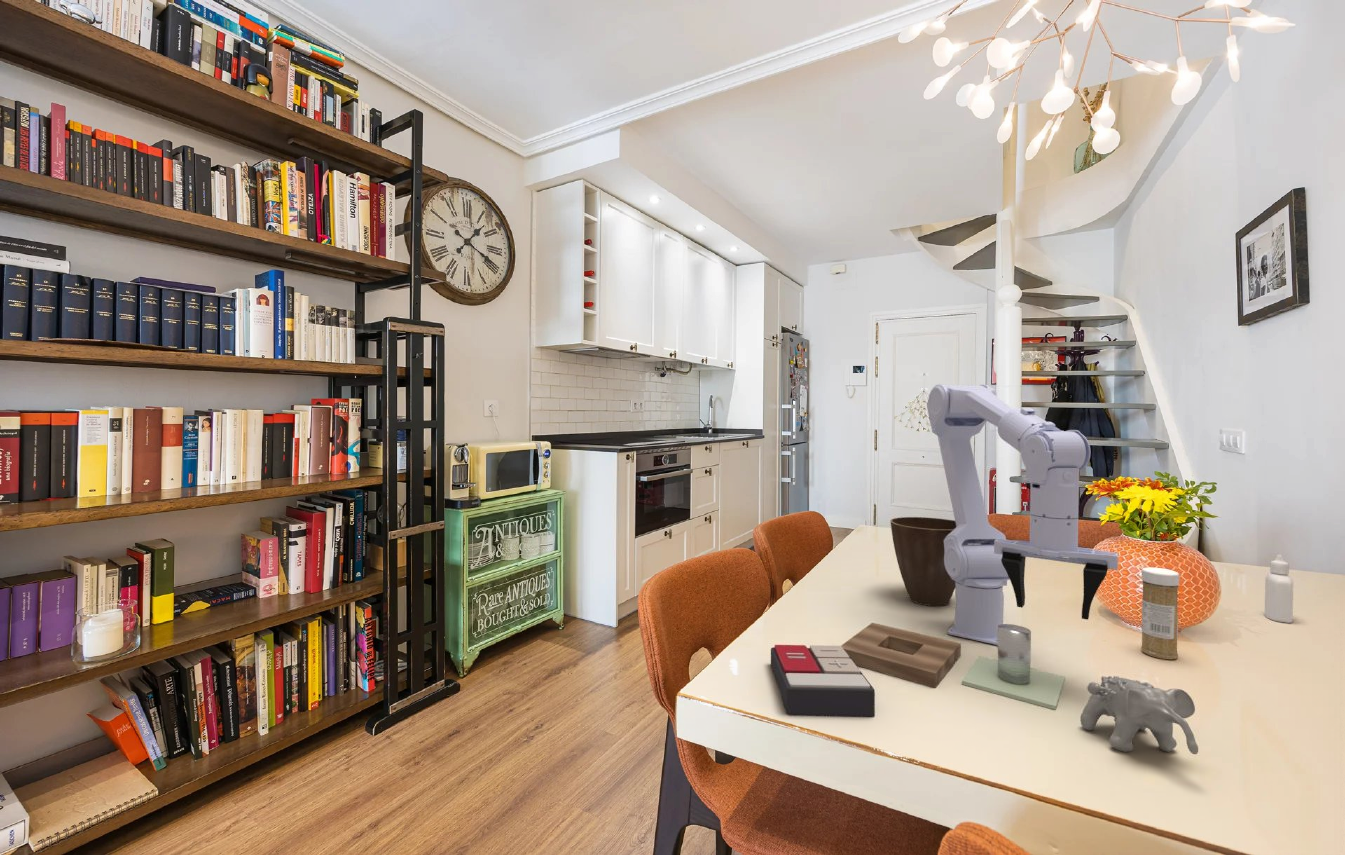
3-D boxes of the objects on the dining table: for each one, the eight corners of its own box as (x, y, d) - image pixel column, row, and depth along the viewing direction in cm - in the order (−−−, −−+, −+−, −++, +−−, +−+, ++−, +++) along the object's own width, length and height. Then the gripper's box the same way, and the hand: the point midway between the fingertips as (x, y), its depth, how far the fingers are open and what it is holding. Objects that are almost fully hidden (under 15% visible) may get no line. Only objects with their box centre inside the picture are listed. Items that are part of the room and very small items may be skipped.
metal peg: (999, 670, 84) (1000, 622, 84) (1031, 677, 81) (1032, 628, 82) (995, 679, 81) (995, 629, 81) (1028, 687, 78) (1029, 636, 78)
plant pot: (874, 592, 123) (875, 518, 123) (931, 587, 127) (932, 515, 127) (924, 615, 108) (925, 531, 108) (987, 608, 113) (988, 527, 113)
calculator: (843, 643, 87) (875, 684, 72) (843, 672, 86) (876, 719, 71) (770, 641, 87) (787, 682, 72) (770, 670, 87) (787, 717, 72)
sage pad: (979, 659, 89) (979, 655, 89) (1064, 680, 82) (1064, 676, 82) (961, 684, 80) (961, 680, 80) (1055, 710, 73) (1055, 706, 73)
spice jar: (1182, 656, 90) (1183, 571, 90) (1171, 663, 88) (1173, 575, 88) (1146, 646, 94) (1147, 565, 94) (1135, 652, 92) (1136, 568, 92)
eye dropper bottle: (1300, 620, 107) (1302, 556, 107) (1289, 624, 105) (1290, 559, 105) (1268, 612, 111) (1269, 551, 111) (1256, 617, 109) (1257, 554, 109)
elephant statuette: (1119, 720, 72) (1116, 658, 72) (1241, 770, 61) (1237, 696, 61) (1067, 735, 69) (1063, 669, 69) (1185, 790, 57) (1181, 712, 58)
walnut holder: (872, 634, 99) (872, 622, 99) (960, 655, 90) (960, 643, 90) (838, 660, 88) (838, 647, 88) (935, 687, 79) (935, 673, 79)
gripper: (990, 513, 83) (988, 607, 83) (1117, 526, 74) (1115, 631, 74) (999, 507, 88) (998, 595, 89) (1119, 518, 79) (1117, 617, 79)
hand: (1052, 611), depth 82 cm, fingers open, 7 cm apart
